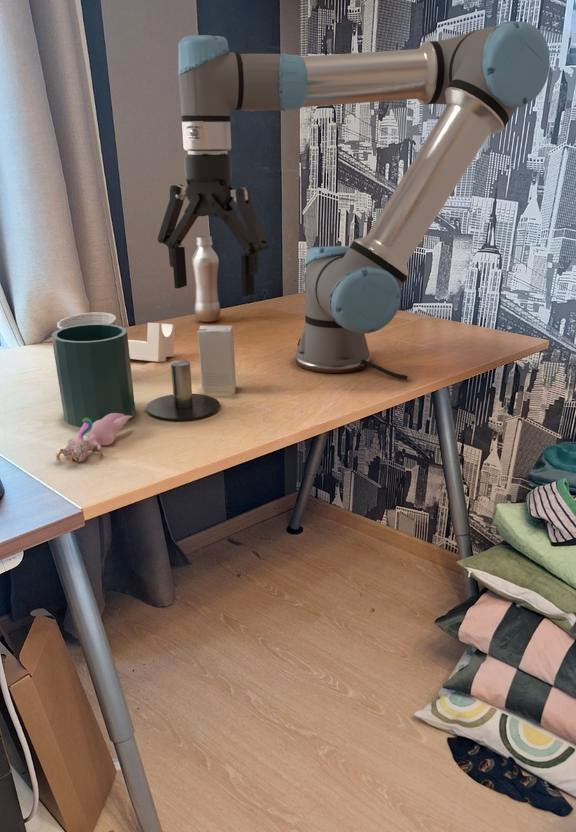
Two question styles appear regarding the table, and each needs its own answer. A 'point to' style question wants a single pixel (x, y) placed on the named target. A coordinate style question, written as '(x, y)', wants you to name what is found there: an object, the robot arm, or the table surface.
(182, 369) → the lid
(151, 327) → the bracket
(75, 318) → the plastic cup
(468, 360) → the table surface
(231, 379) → the cosmetic box
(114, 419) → the pink toy creature
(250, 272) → the robot arm
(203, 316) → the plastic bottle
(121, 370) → the cup
